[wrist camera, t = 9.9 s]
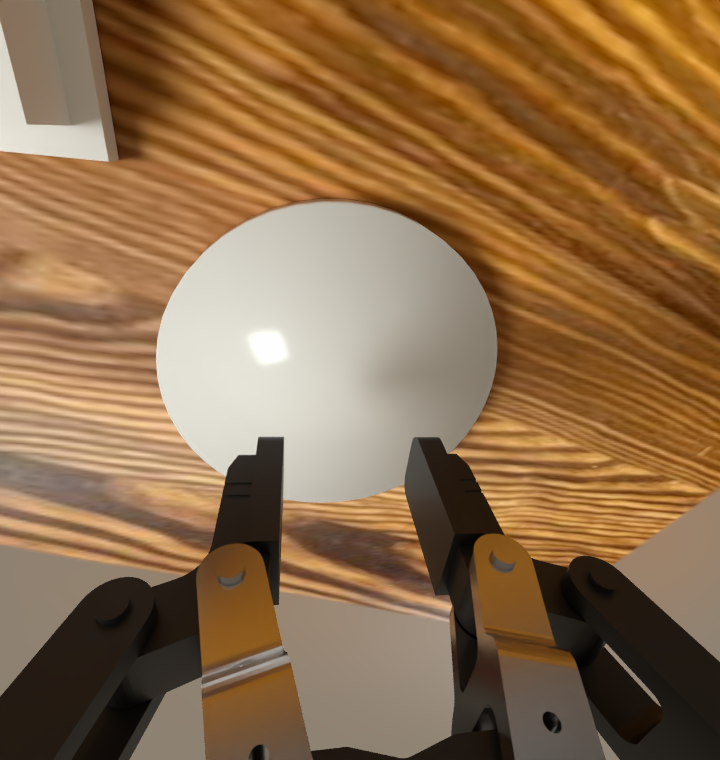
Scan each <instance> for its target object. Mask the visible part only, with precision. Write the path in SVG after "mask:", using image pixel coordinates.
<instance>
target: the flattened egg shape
mask: <svg viewBox="0 0 720 760" xmlns="http://www.w3.org/2000/svg"><path fill="white" fill-rule="evenodd" d="M497 351H498V348H497V331H496V326H495V321H494V316H493V312H492V309H491V306H490V304H489V301H488V298H487V296H486V293H485V291H484V289H483V287H482V286H481V284H480V282H479V280H478V279H477V277H476V275H475V273H474V272H473V271H472V270H471V268H470V267H469V266H468V265H467V263H466V262H465V261H464V260H463V258H462V257H461V256H460V255H459V254H458V253H457V252H456V251H455V250H454V249H452V248H451V247H450V246H449V245H448V244H447V243H446V242H445V241H444V240H442V239H441V238H440V237H438V236H437V235H436V234H434V233H433V232H431V231H430V230H429V229H427V228H426V227H424V226H423V225H421V224H420V223H418V222H417V221H415V220H413V219H411V218H409V217H407V216H405V215H403V214H401V213H399V212H397V211H395V210H392V209H388V208H385V207H382V206H379V205H376V204H373V203H368V202H362V201H356V200H350V199H326V198H320V199H312V200H304V201H296V202H292V203H288V204H284V205H281V206H277V207H273V208H270V209H268V210H265V211H263V212H261V213H258V214H256V215H254V216H251V217H249V218H247V219H245V220H244V221H242V222H241V223H239V224H237V225H236V226H234V227H232V228H231V229H229V230H228V231H226V232H225V233H224V234H223V235H221V236H220V237H219V238H218V239H217V240H215V241H214V242H213V243H212V244H211V245H210V246H208V247H207V249H206V250H205V251H204V252H203V253H202V254H201V255H200V257H199V258H198V259H197V260H196V261H195V262H194V263H193V265H192V266H191V267H190V268H189V270H188V271H187V272H186V273H185V275H184V276H183V278H182V280H181V281H180V283H179V284H178V286H177V287H176V289H175V291H174V292H173V294H172V296H171V298H170V300H169V303H168V305H167V307H166V310H165V312H164V315H163V318H162V322H161V326H160V330H159V334H158V339H157V352H156V365H157V377H158V383H159V387H160V391H161V395H162V399H163V401H164V404H165V406H166V409H167V411H168V414H169V416H170V418H171V420H172V421H173V423H174V425H175V426H176V428H177V430H178V432H179V433H180V435H181V436H182V437H183V438H184V440H185V441H186V442H187V443H188V445H189V446H190V447H191V448H192V449H193V450H194V451H195V452H196V453H197V454H198V455H199V456H200V457H201V458H202V459H203V460H204V461H205V462H206V463H207V464H209V465H210V466H211V467H213V468H214V469H215V470H217V471H218V472H219V473H221V474H222V475H224V476H226V475H227V470H228V467H229V466H230V465H231V464H232V462H233V461H234V460H235V459H236V457H237V456H238V455H256V450H257V442H258V437H284V484H283V499H287V500H293V501H301V502H320V503H327V502H341V501H349V500H355V499H361V498H365V497H369V496H373V495H376V494H380V493H383V492H385V491H388V490H391V489H394V488H396V487H398V486H401V485H403V484H405V473H406V468H407V463H408V458H409V453H410V449H411V444H412V440H413V438H414V437H439V438H440V439H441V441H442V443H443V445H444V447H445V449H446V452H447V454H449V453H450V452H451V451H452V450H453V449H454V448H455V447H456V446H457V445H458V444H459V443H460V442H461V441H462V439H463V438H464V437H465V436H466V435H467V433H468V432H469V431H470V429H471V428H472V426H473V425H474V423H475V422H476V420H477V419H478V417H479V415H480V413H481V411H482V409H483V407H484V405H485V404H486V401H487V398H488V396H489V393H490V390H491V388H492V384H493V379H494V375H495V371H496V363H497Z"/></svg>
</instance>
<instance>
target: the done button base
mask: <svg viewBox="0 0 720 760" xmlns="http://www.w3.org/2000/svg"><path fill="white" fill-rule="evenodd" d="M0 151H6V152H17V153H27V154H37V155H47V156H57V157H67V158H78V159H88V160H98V161H108V162H109V161H115V160H119V157H118V151H117V145H116V140H115V134H114V128H113V122H112V116H111V110H110V104H109V98H108V92H107V86H106V80H105V74H104V68H103V62H102V56H101V50H100V44H99V38H98V32H97V26H96V20H95V14H94V8H93V2H92V0H0Z"/></svg>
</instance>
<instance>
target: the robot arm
mask: <svg viewBox="0 0 720 760" xmlns="http://www.w3.org/2000/svg"><path fill="white" fill-rule="evenodd" d="M283 484H284V437H258V442H257V450H256V455H238V456H237V457H236V459H235V460H234V461H233V462H232V464H231V465H230V466H229V467H228V470H227V475H226V480H225V486H224V489H223V494H222V499H221V504H220V508H219V513H218V518H217V523H216V528H215V532H214V537H213V542H212V546H211V549H210V552H209V554H208V555H207V556H206V557H205V558H204V559H203V561H202V562H201V564H200V565H199V566H198V567H197V568H196V569H194V570H193V571H191V572H190V573H188V574H186V575H184V576H182V577H180V578H177V579H175V580H172V581H169V582H166V583H163V584H160V585H157V586H154V587H150V586H149V585H148V583H146V582H145V581H143V580H141V579H139V578H134V577H124V578H118V579H114V580H111V581H108V582H106V583H104V584H102V585H100V586H98V587H97V588H95V589H94V590H92V591H91V592H90V593H89V594H88V595H87V596H86V597H85V598H84V599H83V600H82V601H81V602H80V603H79V604H78V605H77V607H76V608H75V609H74V610H73V612H72V613H71V614H70V615H69V616H68V617H67V619H66V620H65V621H64V622H63V623H62V624H61V626H60V627H59V628H58V629H57V630H56V631H55V633H54V634H53V635H52V636H51V638H50V639H49V640H48V641H47V642H46V643H45V644H44V646H43V647H42V648H41V649H40V650H39V652H38V653H37V654H36V655H35V656H34V657H33V659H32V660H31V661H30V662H29V663H28V665H27V666H26V667H25V668H24V669H23V670H22V672H21V673H20V674H19V675H18V676H17V678H16V679H15V680H14V681H13V682H12V683H11V685H10V686H9V687H8V688H7V689H6V691H5V692H4V693H3V694H2V695H1V697H0V760H129V759H130V757H131V756H132V754H133V752H134V750H135V748H136V747H137V745H138V743H139V741H140V739H141V737H142V736H143V734H144V732H145V730H146V728H147V726H148V725H149V723H150V721H151V719H152V717H153V715H154V714H155V712H156V710H157V708H158V706H159V704H160V703H161V701H162V699H163V697H164V695H165V694H166V692H168V691H170V690H173V689H175V688H177V687H179V686H182V685H184V684H186V683H188V682H191V681H193V680H195V679H197V678H200V677H202V708H203V722H204V723H203V724H204V740H205V755H206V760H606V759H605V755H604V752H603V749H602V746H601V743H600V739H599V736H598V732H599V733H600V735H601V736H602V737H603V738H604V740H605V741H606V742H607V744H608V745H609V746H610V747H611V749H612V750H613V751H614V753H615V754H616V755H617V756H618V758H619V759H620V760H720V662H719V661H718V660H717V659H716V658H715V657H714V656H712V655H711V654H710V653H709V652H708V651H707V650H706V649H705V648H704V647H702V646H701V645H700V644H699V643H698V642H697V641H696V640H695V639H694V638H693V637H692V636H690V635H689V634H688V633H687V632H686V631H685V630H684V629H683V628H682V627H681V626H679V625H678V624H677V623H676V622H675V621H674V620H673V619H671V617H669V616H668V615H667V614H666V613H665V612H664V611H663V610H662V609H660V607H658V606H657V605H656V604H655V603H654V602H653V601H652V600H650V598H648V597H647V596H646V595H645V594H644V593H643V592H642V591H641V590H640V589H639V588H637V587H636V586H635V585H634V584H633V583H632V582H631V581H630V580H629V579H628V578H626V577H625V576H624V575H623V574H622V573H621V572H620V571H619V570H617V569H616V568H615V567H613V566H612V565H611V564H609V563H607V562H605V561H603V560H601V559H598V558H595V557H591V556H579V557H577V558H575V559H573V560H572V562H571V563H570V565H569V567H568V568H566V567H562V566H558V565H554V564H550V563H546V562H542V561H539V560H535V559H533V558H531V557H530V555H529V554H528V552H527V551H526V550H525V549H524V548H523V546H521V545H520V544H519V543H518V542H516V541H515V540H513V539H511V538H509V537H507V536H505V535H504V533H503V531H502V529H501V528H500V526H499V524H498V522H497V520H496V518H495V516H494V514H493V512H492V510H491V508H490V506H489V504H488V502H487V500H486V498H485V496H484V494H483V493H481V488H480V486H479V485H478V483H477V482H476V479H475V477H474V475H473V473H472V471H471V469H470V467H469V465H468V464H466V463H465V462H464V461H463V460H462V459H461V458H460V457H459V456H458V455H457V454H447V452H446V449H445V447H444V445H443V443H442V441H441V439H440V438H439V437H414V438H413V440H412V444H411V449H410V453H409V458H408V463H407V468H406V473H405V494H406V498H407V501H408V504H409V508H410V511H411V515H412V518H413V521H414V525H415V528H416V531H417V535H418V538H419V542H420V545H421V548H422V552H423V555H424V558H425V562H426V565H427V568H428V572H429V575H430V579H431V582H432V585H433V589H434V592H435V595H449V596H450V599H451V602H452V605H453V606H452V609H451V612H450V619H449V620H450V636H451V650H452V665H453V680H454V712H453V718H452V731H451V736H450V737H448V738H446V739H444V740H443V741H440V742H439V743H437V744H435V745H433V746H431V747H429V748H427V749H425V750H423V751H421V752H419V753H417V754H415V755H413V756H411V757H409V758H404V759H403V758H397V757H391V756H387V755H382V754H378V753H373V752H369V751H363V750H359V749H355V748H350V747H342V748H333V749H325V750H316V751H311V749H310V745H309V741H308V736H307V732H306V728H305V723H304V719H303V715H302V710H301V706H300V701H299V697H298V693H297V688H296V684H295V680H294V675H293V671H292V667H291V663H290V660H289V657H288V654H287V652H285V651H284V649H283V645H282V641H281V637H280V633H279V628H278V624H277V619H276V614H275V610H274V605H279V585H280V561H281V537H282V512H283ZM606 643H607V644H608V645H609V646H610V647H611V649H612V650H613V651H614V652H615V653H616V654H617V655H618V656H619V657H620V658H621V659H622V661H623V662H624V663H625V664H626V665H627V666H628V667H629V668H630V669H631V670H632V671H633V672H634V673H635V674H636V676H637V677H638V678H639V679H640V680H641V681H642V682H643V683H644V684H645V685H646V686H647V687H648V688H649V690H650V691H651V692H652V693H653V694H654V695H655V696H656V698H657V699H658V701H659V703H660V705H661V707H660V706H659V705H658V704H656V703H655V702H654V701H653V700H652V699H651V697H650V696H649V695H648V694H647V693H646V692H645V691H644V690H643V689H642V688H641V687H640V685H638V683H637V682H636V681H635V680H634V679H633V678H632V677H631V676H630V675H629V674H628V672H627V671H626V670H625V669H624V668H623V667H622V666H621V665H620V664H619V663H618V662H617V660H616V659H615V658H614V657H613V656H612V655H611V654H610V653H609V652H608V651H607V650H606V648H605V647H604V646H605V644H606ZM597 731H598V732H597Z"/></svg>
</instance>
